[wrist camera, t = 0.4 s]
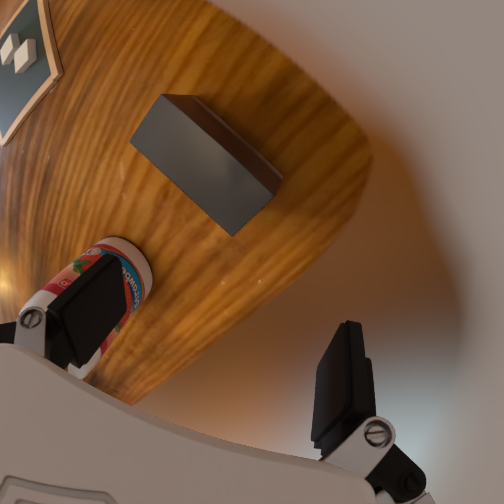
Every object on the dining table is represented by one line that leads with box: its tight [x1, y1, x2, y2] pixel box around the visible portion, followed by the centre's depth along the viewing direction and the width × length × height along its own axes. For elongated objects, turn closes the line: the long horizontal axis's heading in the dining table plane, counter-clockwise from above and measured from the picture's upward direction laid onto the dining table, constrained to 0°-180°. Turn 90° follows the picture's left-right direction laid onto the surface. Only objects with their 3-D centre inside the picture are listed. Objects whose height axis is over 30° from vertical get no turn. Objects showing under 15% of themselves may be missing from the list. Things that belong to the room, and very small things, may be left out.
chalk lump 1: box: [0, 34, 21, 65], centre depth 18 cm, size 4×4×2 cm
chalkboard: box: [0, 0, 64, 147], centre depth 21 cm, size 20×18×1 cm
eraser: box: [129, 94, 284, 236], centre depth 21 cm, size 11×5×6 cm, turn 48°
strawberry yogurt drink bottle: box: [16, 237, 152, 380], centre depth 21 cm, size 9×9×28 cm
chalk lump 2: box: [14, 39, 37, 74], centre depth 19 cm, size 4×4×2 cm
